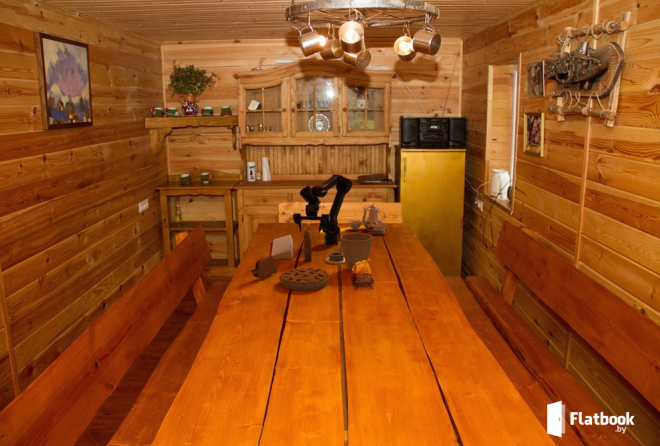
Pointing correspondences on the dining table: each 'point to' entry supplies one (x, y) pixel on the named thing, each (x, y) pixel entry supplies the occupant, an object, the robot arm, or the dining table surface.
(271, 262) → the wooden carving
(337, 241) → the robot arm
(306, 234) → the brown tapered rod
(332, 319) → the dining table surface
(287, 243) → the decorative molding
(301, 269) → the pie
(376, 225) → the chinaware
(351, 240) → the plant pot
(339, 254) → the cup bracket
